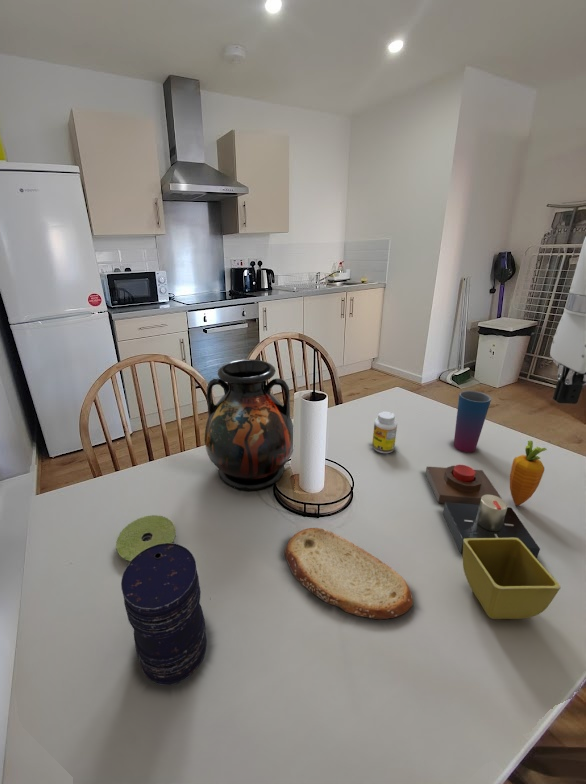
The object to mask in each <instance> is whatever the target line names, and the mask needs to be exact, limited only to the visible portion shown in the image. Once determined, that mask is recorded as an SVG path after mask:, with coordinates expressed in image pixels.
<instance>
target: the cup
mask: <svg viewBox="0 0 586 784" xmlns="http://www.w3.org/2000/svg"><path fill="white" fill-rule="evenodd" d="M491 402H492V397H491V396H490V395H489V394H487V393H485V392H482V391H478V390H462V391H460V392H459V394H458V402H457V411H456V419H455V428H454V437H453V447H454V448H455V449H456V450H458V451H460V452H462V453H473V452H475V451H476V449H477V446H478V442H479V440H480V436H481V433H482V430H483V427H484V424H485V421H486V417H487V414H488V412H489V408H490V405H491Z"/></svg>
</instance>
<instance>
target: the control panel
mask: <svg viewBox="0 0 586 784" xmlns="http://www.w3.org/2000/svg"><path fill="white" fill-rule="evenodd" d="M478 509H479V505H475V504H463V503H451V502H445V504H443V510H442V515H443V517H444V520H445V522H446V524H447V526H448V529H449V530H450V533H451V535H452V538H453V539H454V542H455V544H456V547H457V548H458V551H459V553H460V554H462V555H463V539H466V538H518V539H520V540H521V541H522V542H523V543H524V544H525V546H526V547H527V548H528V549H529V550H530V552H531V553H532V554H533V555H534V557H535V558H536V559H537V560H538V557H539V553H540V551H541V548H540V546H539V545H538V544H537V542H536V540H534V538H533V536H532V535H531V534H530V532H529V531H528V529H527V528H526V527H525V525H524V524H523V522H522V521H521V520H520V518H519V516H518V515H517V514H516V512H515V511H514V509H513V508H512V507H510V506H508V507H507V511H506V514H505V518H504V521H503V525H502V528H501V530H499V531H489V530H487V529H484V528H483V527H481V526H480V525H479V524H478V523H477V521H476V517H477V513H478Z"/></svg>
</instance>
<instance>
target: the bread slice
mask: <svg viewBox="0 0 586 784" xmlns="http://www.w3.org/2000/svg"><path fill="white" fill-rule="evenodd" d="M284 557H285V558H286V560H287V563H288V566H289V568H290V571H291V573H292V574H293V576H295V578H296V579H297V580H298V582H299V583H300V584H301V585H302V586H303V587H305V588H306V589H307V590H308V591H309V592H310V593H312V594H314V595H315V596H316V597H317V598H318V599H321V600H322V601H324V603H326V604H329V605H333V606H336V607H338V608H340V609H341V610H343V611H344V612H346V613H348V614H352V615H354V616H358V617H363V618H369V619H374V620H381V619H382V620H383V619H384V620H387V619H394V618H397V617H399V616H402V615H403V614H406V613H407V612H408V611H409V610H410V608H412V607H413V604H414V599H413V594H412V592H411V590H410V587H409V584H408V583H407V582H406V580H405V579H404V577H402V576H401V575H400V574H399V573H398V572H397V571H396V570H394V569H392V567H390V566H389V565H388V564H386V563H383V561H382V560H380V559H379V558H378V557H375V556H373V555H372V554H371V553H369V552H367V551H366V550H364V549H363V548H361V547H360V546H359V545H355V543H353V542H350V541H349V540H347V539H346V538H343V537H342V536H340V535H338V534H335V533H333V532H332V531H329V530H325V529H324V528H318V527H308V528H305V529H303V530H300V531H298V532H296V533H295V534H294V535H293V536H292V537H291V538H289V540H288V542H287V544H286V547H285V550H284Z"/></svg>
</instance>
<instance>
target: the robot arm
mask: <svg viewBox="0 0 586 784" xmlns="http://www.w3.org/2000/svg"><path fill="white" fill-rule="evenodd" d="M577 260H578V261H577V264H576V266H575V270H574V274H573V278H572V282H571V285H570V289H569V292H568V296H567V299H566V303H565V305H564V309H563V314H562V315H561V317H560V320H559V322H558V324H557V327H556V331H555V333H554V336H553V339H552V342H551V346H550V350H549V351H550V352H549V355H550V357H551V358H552V362H553V364H554V365H555V366H557V375H556V378H557V383H556V386H555V388H554V393H553V396H552V399H553V400H554V401H556V402H557V403H558V404H569V405H571V404H573V405H576V404H578V403H579V399H580V396H581V393H582V390H583V387H584V386H586V236H585V237H584V239H583V243H582V245H581V249H580V253H579V257H578V259H577Z"/></svg>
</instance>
